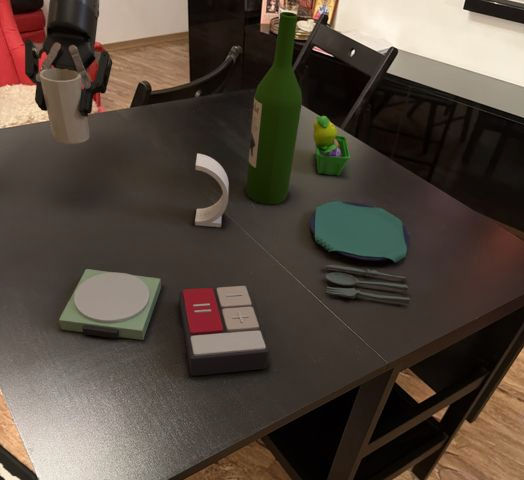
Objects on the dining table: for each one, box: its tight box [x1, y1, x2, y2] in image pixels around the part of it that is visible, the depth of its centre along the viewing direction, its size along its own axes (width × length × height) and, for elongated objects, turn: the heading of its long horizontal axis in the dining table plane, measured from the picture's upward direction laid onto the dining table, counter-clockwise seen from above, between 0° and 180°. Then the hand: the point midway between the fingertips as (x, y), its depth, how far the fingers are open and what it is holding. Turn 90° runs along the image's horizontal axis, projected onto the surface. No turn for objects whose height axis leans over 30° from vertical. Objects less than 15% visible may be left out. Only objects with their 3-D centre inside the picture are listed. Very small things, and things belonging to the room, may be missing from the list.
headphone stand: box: [194, 152, 230, 228], centre depth 89 cm, size 5×6×12 cm
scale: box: [58, 268, 162, 341], centre depth 73 cm, size 12×13×3 cm
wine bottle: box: [245, 11, 303, 205], centre depth 91 cm, size 9×9×32 cm
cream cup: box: [40, 67, 91, 145], centre depth 81 cm, size 6×6×10 cm
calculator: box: [178, 285, 270, 377], centre depth 71 cm, size 11×4×15 cm
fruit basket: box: [312, 115, 351, 176], centre depth 111 cm, size 11×9×11 cm
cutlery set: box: [309, 200, 411, 305], centre depth 91 cm, size 20×30×2 cm, turn 174°
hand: (63, 111), depth 80 cm, fingers closed on cream cup, 6 cm apart
